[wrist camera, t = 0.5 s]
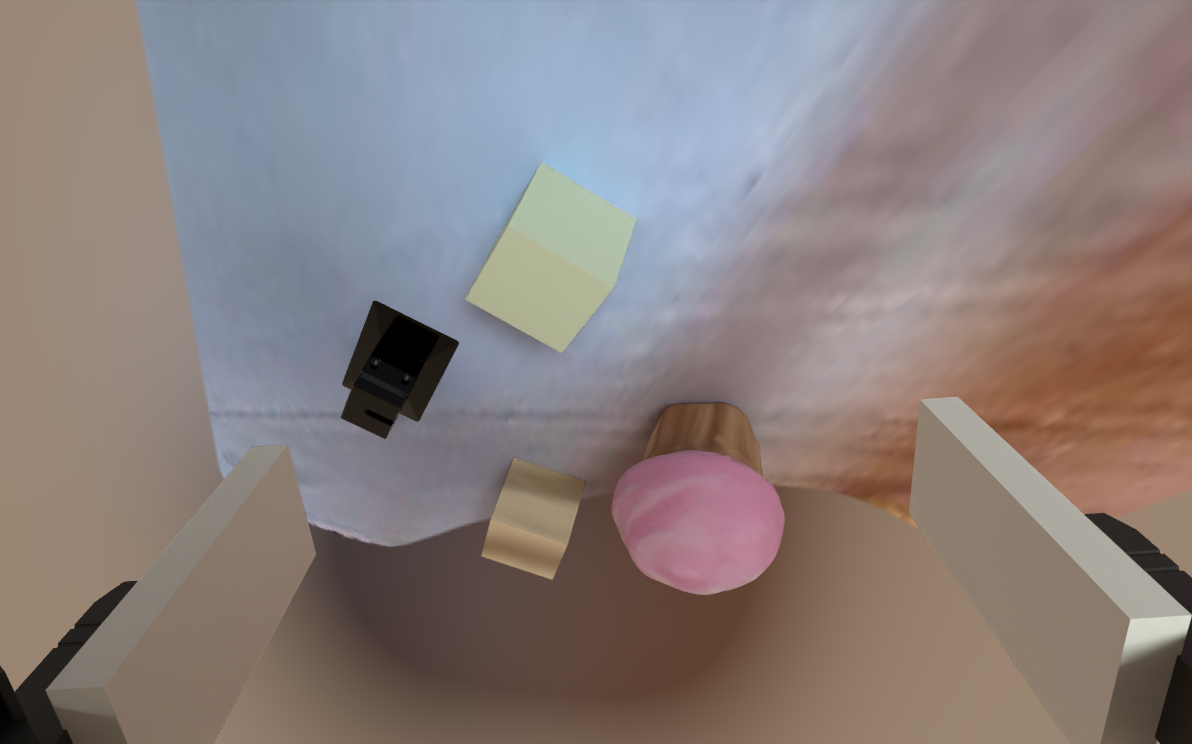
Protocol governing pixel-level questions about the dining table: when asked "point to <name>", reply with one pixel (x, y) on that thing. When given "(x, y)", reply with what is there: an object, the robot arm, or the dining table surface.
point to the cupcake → (699, 502)
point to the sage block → (553, 259)
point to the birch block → (533, 518)
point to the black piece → (394, 369)
